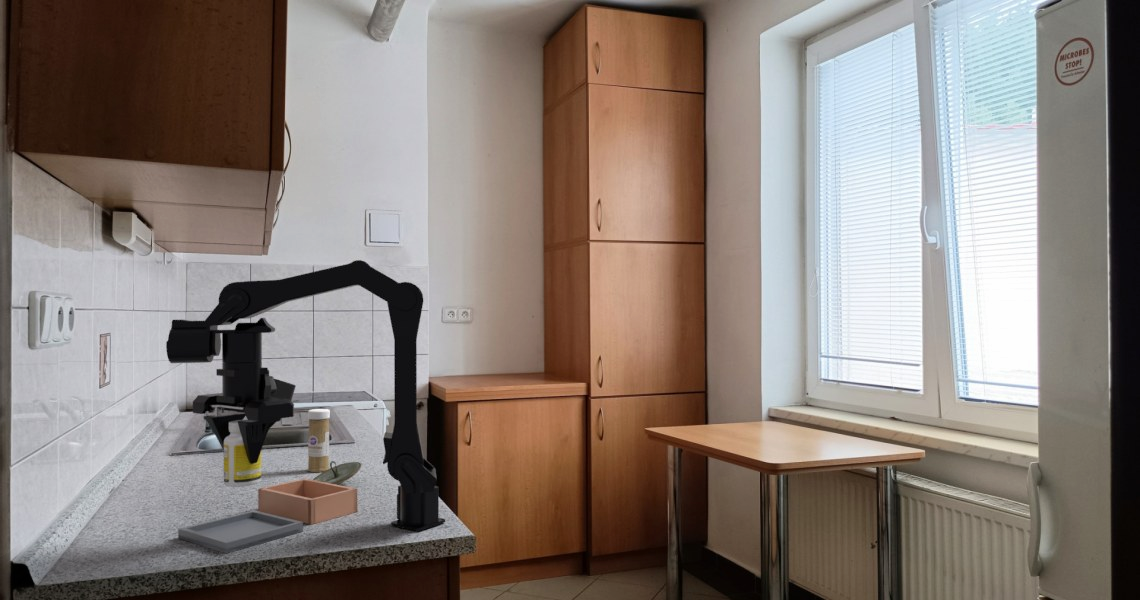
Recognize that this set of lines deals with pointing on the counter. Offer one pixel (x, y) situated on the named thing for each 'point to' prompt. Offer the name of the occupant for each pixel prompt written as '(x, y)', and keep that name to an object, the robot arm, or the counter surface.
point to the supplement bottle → (238, 461)
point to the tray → (240, 531)
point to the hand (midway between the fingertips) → (242, 461)
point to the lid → (339, 473)
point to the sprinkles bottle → (318, 440)
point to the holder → (307, 500)
